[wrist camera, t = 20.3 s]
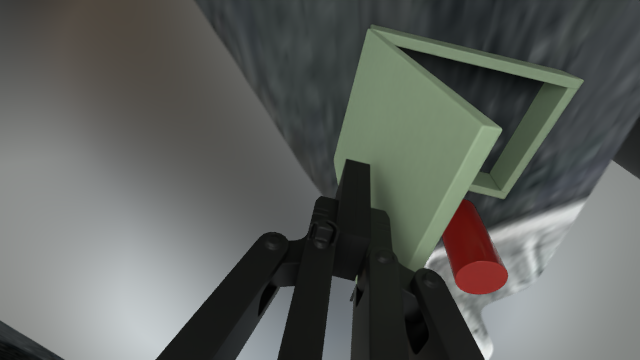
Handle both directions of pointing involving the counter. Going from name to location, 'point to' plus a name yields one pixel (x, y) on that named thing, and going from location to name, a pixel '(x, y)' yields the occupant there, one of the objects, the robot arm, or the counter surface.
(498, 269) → the tin
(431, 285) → the robot arm
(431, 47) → the green open box
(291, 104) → the counter surface
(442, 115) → the lid
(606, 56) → the counter surface
